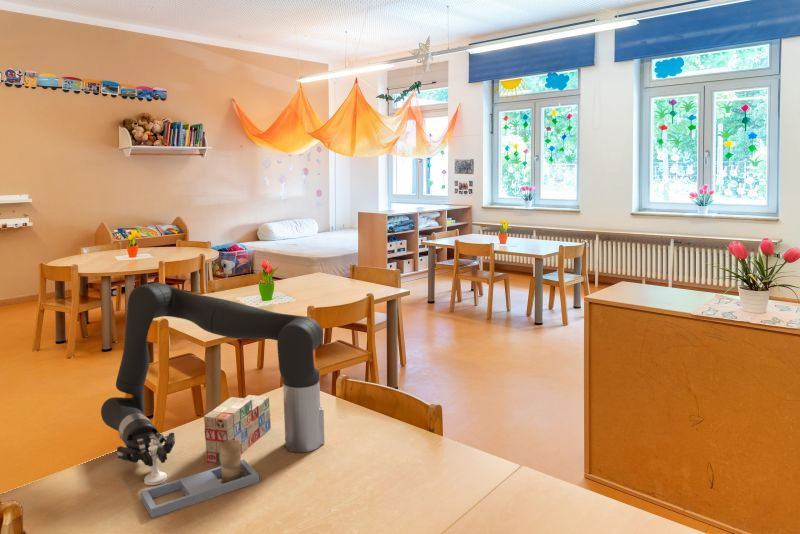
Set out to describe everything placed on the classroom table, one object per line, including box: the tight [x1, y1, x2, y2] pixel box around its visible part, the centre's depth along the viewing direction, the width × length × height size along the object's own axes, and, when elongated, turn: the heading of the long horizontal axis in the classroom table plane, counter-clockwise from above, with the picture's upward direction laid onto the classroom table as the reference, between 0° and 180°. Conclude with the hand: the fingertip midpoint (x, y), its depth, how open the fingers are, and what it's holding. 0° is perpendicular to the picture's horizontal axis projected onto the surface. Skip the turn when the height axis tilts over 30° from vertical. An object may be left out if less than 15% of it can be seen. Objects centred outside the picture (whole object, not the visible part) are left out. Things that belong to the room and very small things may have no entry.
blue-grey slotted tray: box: [140, 459, 260, 519], centre depth 134 cm, size 24×8×2 cm, turn 126°
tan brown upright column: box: [220, 440, 243, 484], centre depth 138 cm, size 4×4×9 cm
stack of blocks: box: [203, 394, 272, 465], centre depth 155 cm, size 21×6×12 cm, turn 164°
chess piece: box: [143, 439, 168, 486], centre depth 138 cm, size 5×5×10 cm
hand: (157, 460), depth 136 cm, fingers closed on chess piece
